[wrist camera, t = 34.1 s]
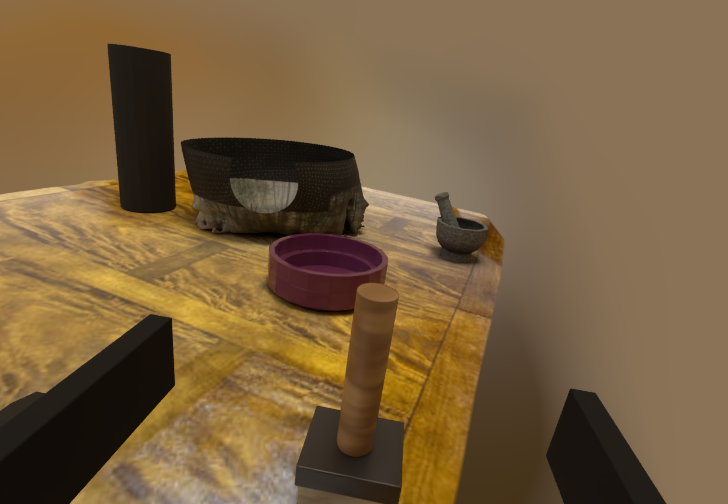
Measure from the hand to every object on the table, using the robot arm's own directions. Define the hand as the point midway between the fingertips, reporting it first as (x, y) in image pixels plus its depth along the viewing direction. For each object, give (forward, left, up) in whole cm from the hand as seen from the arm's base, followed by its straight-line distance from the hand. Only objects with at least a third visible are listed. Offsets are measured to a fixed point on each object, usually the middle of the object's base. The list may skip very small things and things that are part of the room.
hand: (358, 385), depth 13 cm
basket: (+39, -58, -17) cm, 72 cm away
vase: (+66, -51, -17) cm, 86 cm away
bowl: (+18, -38, -17) cm, 46 cm away
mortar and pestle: (+4, -66, -17) cm, 69 cm away
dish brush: (+2, -9, -17) cm, 19 cm away
